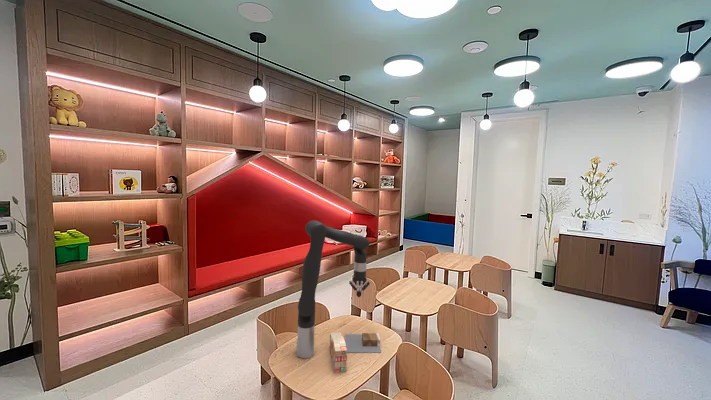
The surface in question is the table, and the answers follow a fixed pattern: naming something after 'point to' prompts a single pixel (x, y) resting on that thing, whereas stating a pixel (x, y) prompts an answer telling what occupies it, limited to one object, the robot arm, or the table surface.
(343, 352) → the stack of blocks
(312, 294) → the robot arm
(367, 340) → the walnut block
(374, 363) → the table surface
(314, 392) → the table surface
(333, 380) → the table surface
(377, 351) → the mat
